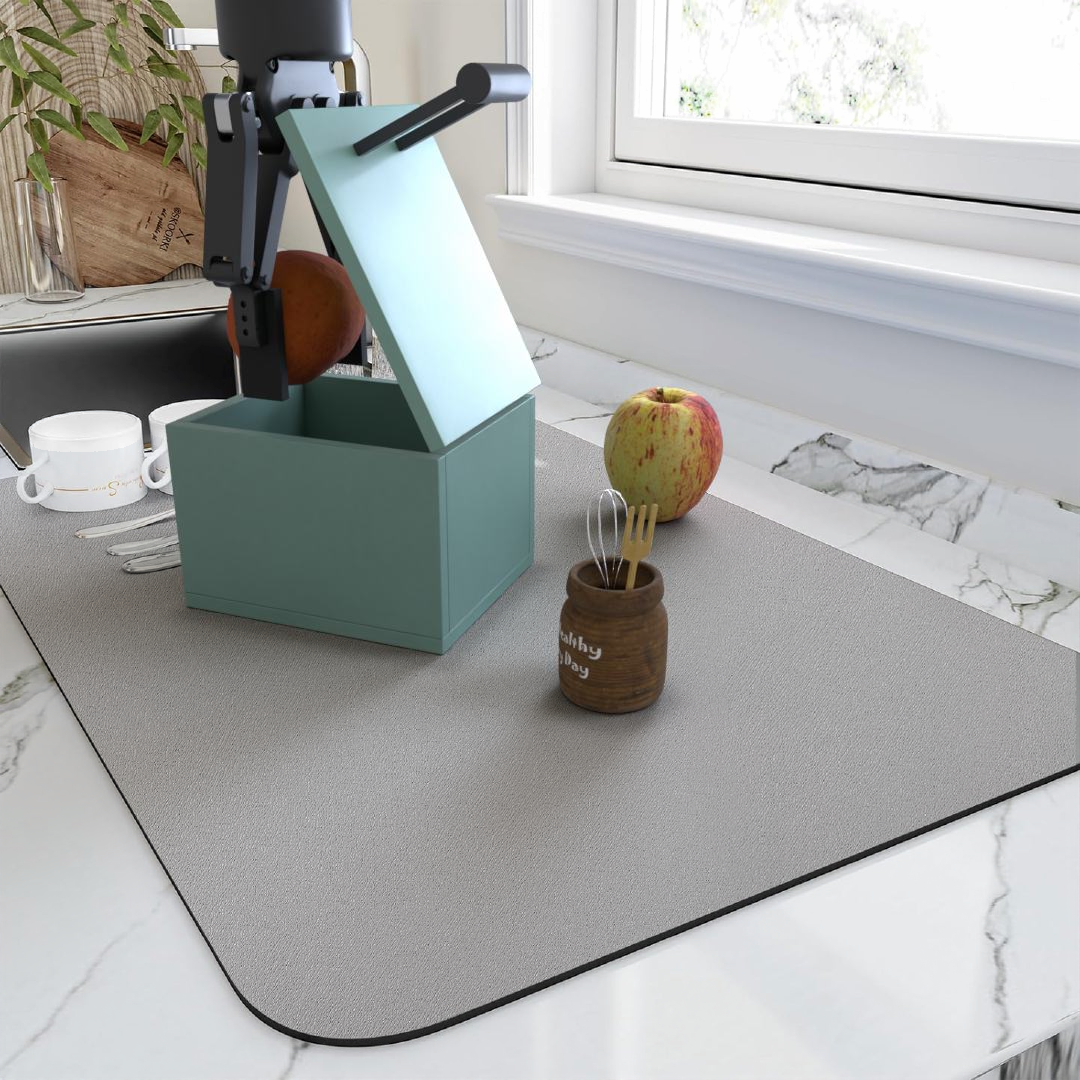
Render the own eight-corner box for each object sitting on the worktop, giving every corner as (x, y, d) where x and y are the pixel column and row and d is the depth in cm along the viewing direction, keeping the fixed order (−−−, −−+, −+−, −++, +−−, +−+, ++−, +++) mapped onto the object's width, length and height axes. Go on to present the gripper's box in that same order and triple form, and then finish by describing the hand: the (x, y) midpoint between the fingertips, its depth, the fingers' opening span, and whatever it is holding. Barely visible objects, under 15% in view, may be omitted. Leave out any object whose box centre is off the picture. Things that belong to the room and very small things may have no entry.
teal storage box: (185, 606, 73) (164, 424, 69) (309, 526, 86) (298, 369, 82) (442, 655, 68) (438, 459, 63) (534, 562, 81) (535, 394, 76)
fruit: (397, 303, 69) (311, 196, 68) (278, 391, 67) (189, 282, 66) (385, 341, 77) (309, 246, 77) (279, 421, 75) (200, 324, 75)
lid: (274, 117, 59) (429, 22, 55) (406, 110, 72) (541, 33, 68) (430, 453, 63) (588, 390, 59) (529, 388, 76) (664, 333, 72)
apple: (735, 530, 87) (745, 400, 83) (620, 539, 85) (625, 407, 81) (693, 490, 95) (700, 370, 91) (587, 498, 93) (590, 376, 89)
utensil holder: (639, 657, 68) (648, 462, 63) (685, 710, 62) (698, 499, 57) (543, 672, 66) (545, 471, 61) (581, 727, 60) (587, 511, 56)
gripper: (225, -33, 54) (263, 431, 62) (428, -4, 73) (436, 349, 81) (94, -29, 56) (149, 417, 65) (323, -3, 75) (342, 340, 84)
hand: (309, 379), depth 73 cm, fingers closed on fruit, 9 cm apart
